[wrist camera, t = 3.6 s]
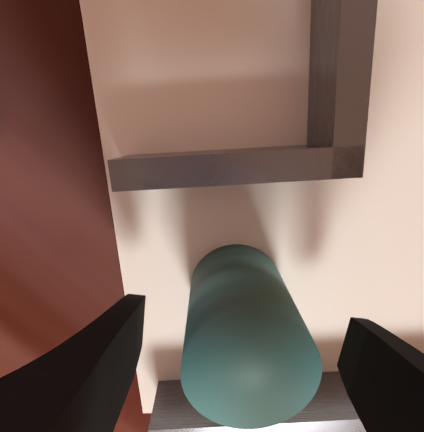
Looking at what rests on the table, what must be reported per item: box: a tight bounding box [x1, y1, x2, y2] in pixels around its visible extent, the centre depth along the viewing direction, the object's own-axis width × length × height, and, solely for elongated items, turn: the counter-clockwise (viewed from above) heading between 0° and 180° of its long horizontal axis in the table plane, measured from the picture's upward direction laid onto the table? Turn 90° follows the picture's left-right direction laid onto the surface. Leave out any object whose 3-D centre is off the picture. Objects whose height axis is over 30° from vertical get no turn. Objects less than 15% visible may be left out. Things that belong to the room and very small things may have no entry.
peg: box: [180, 244, 322, 429], centre depth 11 cm, size 4×4×5 cm
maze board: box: [79, 0, 424, 413], centre depth 11 cm, size 20×28×1 cm
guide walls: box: [107, 0, 378, 432], centre depth 10 cm, size 19×26×2 cm
